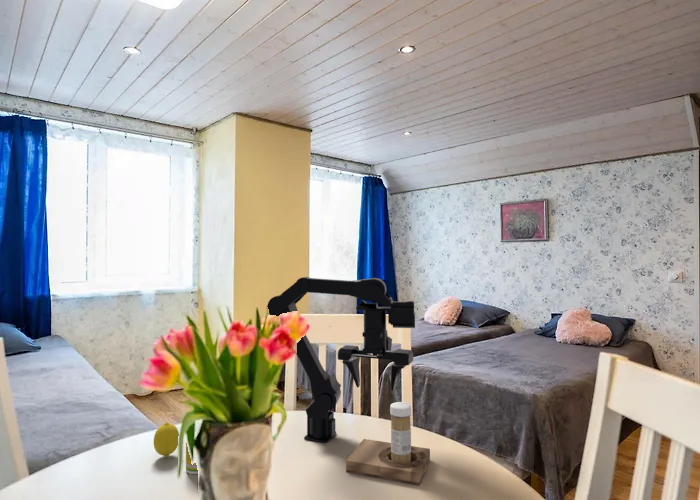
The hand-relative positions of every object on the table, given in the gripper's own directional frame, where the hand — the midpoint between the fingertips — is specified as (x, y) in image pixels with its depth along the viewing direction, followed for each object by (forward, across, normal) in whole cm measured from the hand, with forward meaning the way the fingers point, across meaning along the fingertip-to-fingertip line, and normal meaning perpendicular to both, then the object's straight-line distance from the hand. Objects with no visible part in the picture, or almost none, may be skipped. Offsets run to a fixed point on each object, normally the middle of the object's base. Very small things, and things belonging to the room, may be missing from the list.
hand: (375, 388), depth 111 cm
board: (+13, -7, +12) cm, 19 cm away
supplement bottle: (+13, +32, +28) cm, 45 cm away
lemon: (+13, +43, +26) cm, 52 cm away
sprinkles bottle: (+13, -10, +12) cm, 20 cm away
